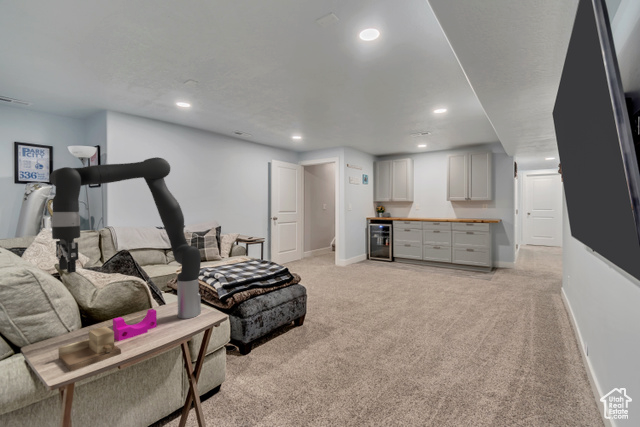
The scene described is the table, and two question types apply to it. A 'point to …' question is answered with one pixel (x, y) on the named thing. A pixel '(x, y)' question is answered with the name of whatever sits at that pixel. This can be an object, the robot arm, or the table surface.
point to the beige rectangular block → (101, 339)
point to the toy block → (134, 326)
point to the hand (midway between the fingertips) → (67, 271)
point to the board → (83, 355)
